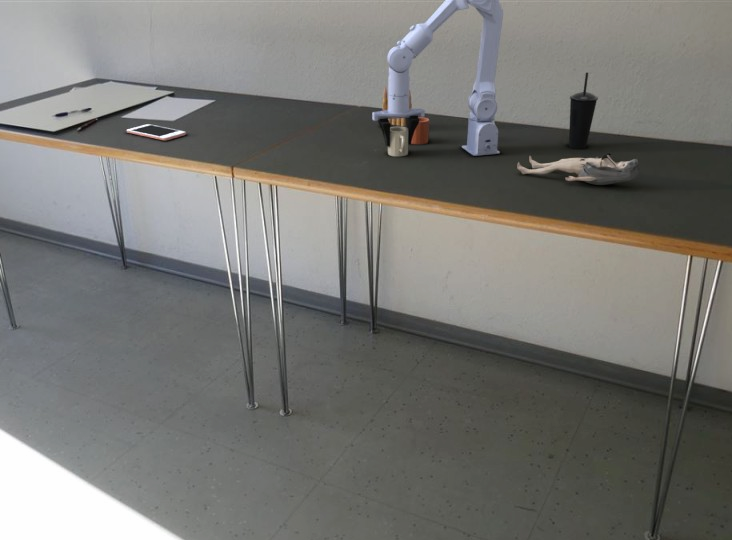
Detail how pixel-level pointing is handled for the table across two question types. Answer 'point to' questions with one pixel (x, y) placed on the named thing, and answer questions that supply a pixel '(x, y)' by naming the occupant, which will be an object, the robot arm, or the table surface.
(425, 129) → the terracotta cup
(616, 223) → the table surface
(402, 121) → the ammunition clip
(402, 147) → the cream cup
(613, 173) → the anime figure
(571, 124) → the drinking cup
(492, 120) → the robot arm
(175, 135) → the cell phone
